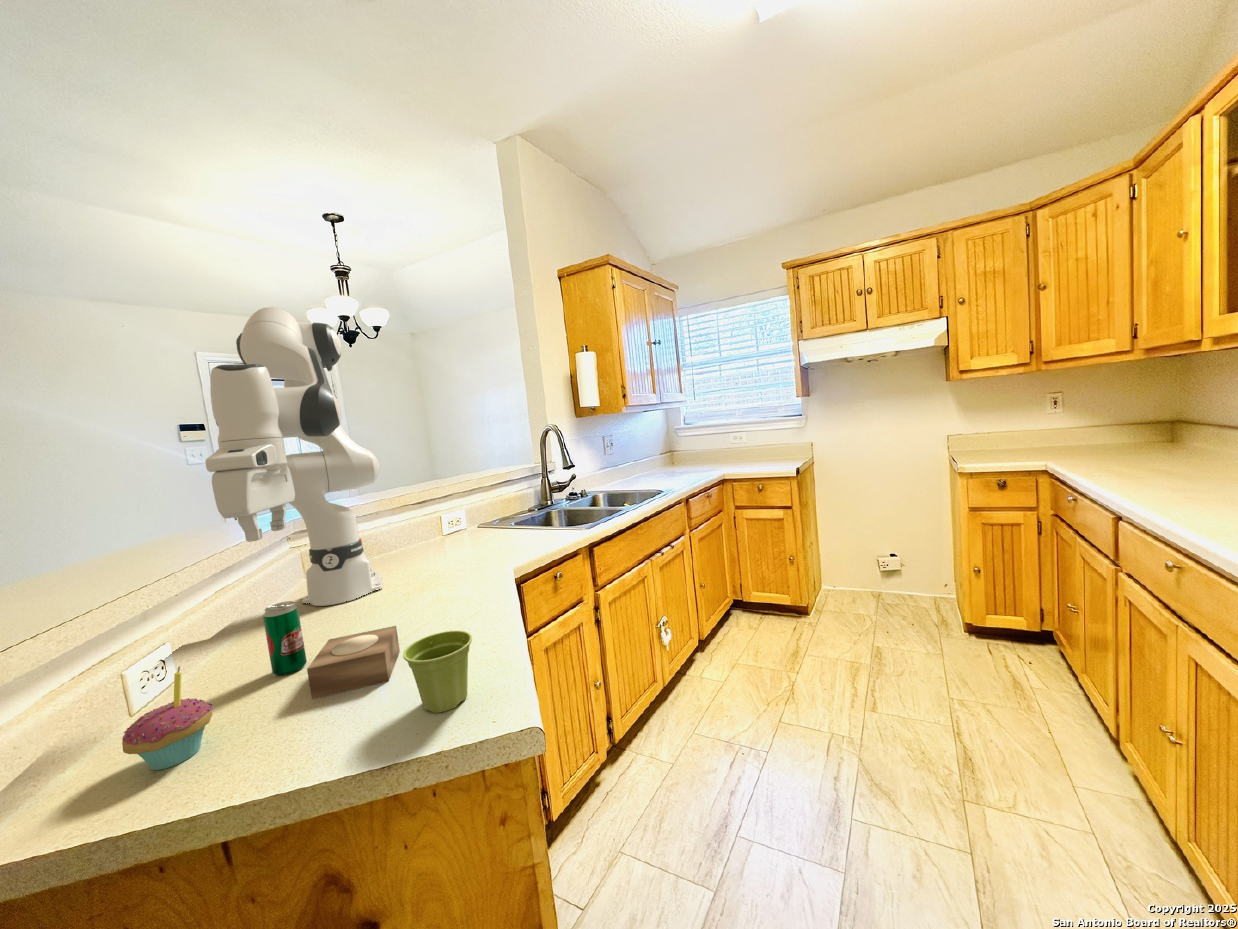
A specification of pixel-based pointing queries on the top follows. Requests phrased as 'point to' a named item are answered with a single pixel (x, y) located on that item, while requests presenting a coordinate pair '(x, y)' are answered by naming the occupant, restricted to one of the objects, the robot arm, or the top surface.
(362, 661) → the plinth
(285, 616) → the soda can
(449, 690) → the plant pot
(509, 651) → the top surface
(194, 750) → the cupcake
